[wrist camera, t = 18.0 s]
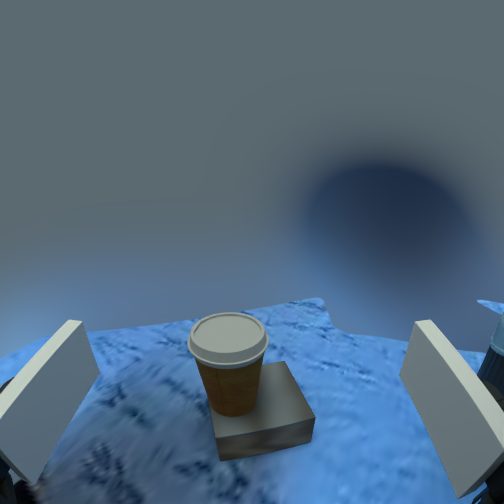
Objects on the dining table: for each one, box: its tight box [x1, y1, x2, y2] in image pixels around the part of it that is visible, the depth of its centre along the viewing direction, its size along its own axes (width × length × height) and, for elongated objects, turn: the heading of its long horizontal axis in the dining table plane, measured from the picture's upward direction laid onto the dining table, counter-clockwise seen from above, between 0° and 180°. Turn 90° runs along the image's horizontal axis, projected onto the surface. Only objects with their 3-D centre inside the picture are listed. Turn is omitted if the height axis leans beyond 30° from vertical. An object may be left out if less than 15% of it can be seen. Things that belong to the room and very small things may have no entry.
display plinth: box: [207, 361, 316, 461], centre depth 39 cm, size 13×13×6 cm
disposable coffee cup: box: [188, 312, 269, 417], centre depth 35 cm, size 10×10×12 cm
